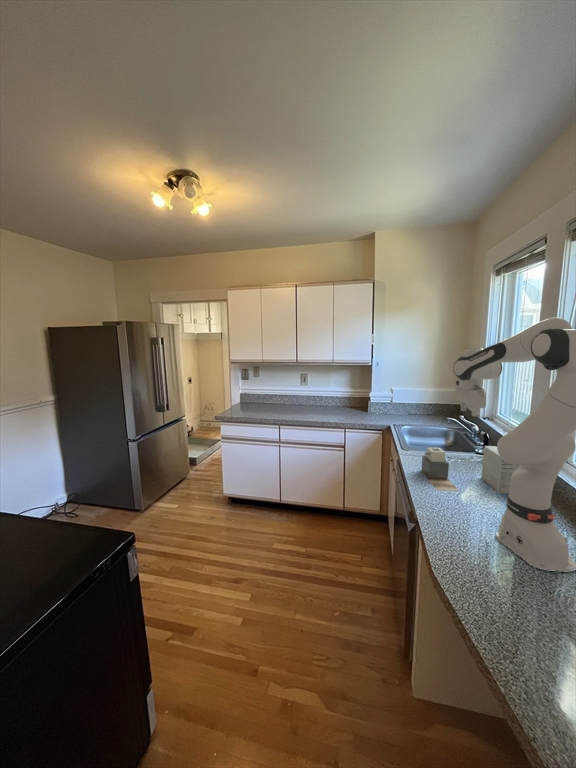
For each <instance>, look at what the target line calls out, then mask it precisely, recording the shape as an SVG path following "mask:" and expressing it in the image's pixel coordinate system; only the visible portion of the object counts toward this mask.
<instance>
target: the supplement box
mask: <svg viewBox="0 0 576 768" xmlns="http://www.w3.org/2000/svg"><path fill="white" fill-rule="evenodd" d="M481 468H482V469H481V480H482V481H483V482H485V483H486V484H487V485H488V486H489V487H490V488H492V489H493V490H494V491H495V492H497V494H507V495H509V491H510V482H511V476H512V474H513V473H514V471H516V470H517V469H518V468H519V465H512V464H508V463H507V462H505V461H504V460H503V459H502V458H501V457H500V455H499V453H498V450H497V446H495V445H484V447H483V459H482V467H481Z"/></svg>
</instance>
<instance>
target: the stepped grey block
mask: <svg viewBox="0 0 576 768" xmlns="http://www.w3.org/2000/svg"><path fill="white" fill-rule="evenodd" d="M421 457H422V458H421V469H420V472H421V471H422V472H423V473H424V474H425V475H424V474H423V473H422V472H421V473H422V474H423V475H424V477H427V478H428V479H448V478H449V476H448V475H449V470H450V469H449V468H450V467H449V466H450V462H448V461H447V460H446V459H445V461H444V462H431V461H430V460H429V459H428V458H427V455H422V456H421ZM427 478H426V479H427ZM428 479H427V480H428ZM448 480H449V479H448Z"/></svg>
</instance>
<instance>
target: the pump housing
mask: <svg viewBox="0 0 576 768" xmlns="http://www.w3.org/2000/svg"><path fill="white" fill-rule="evenodd" d="M426 448H427V449H426V451H424V456H427V458H428V459H429V460H430V461H431V462H444V461H445V460H446V452H445V450H443V449H442V448H440V447H426Z"/></svg>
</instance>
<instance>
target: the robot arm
mask: <svg viewBox="0 0 576 768" xmlns="http://www.w3.org/2000/svg"><path fill="white" fill-rule="evenodd" d="M535 360H536V361H537V362H539V363H540V364H542V365H543V367H544V368H545V369H546V370H547V371H556V376H555V377H556V378H555V379H554V382H553V383H552V384H551V385H550V387H549V388H548V390H547V391H546V393H545V394H544V396H543V397H542V399H541V400H540V402H539V403H538V405H537V406H536V408H534V410H533V411H532V412H531V413H530V414H529V415H528V416H527V417H526V418H524V420H522V422H520V423H519V424H518V425H517V426H516V427H515V428H514V429H512V430H511V431H509V432H508V433H506V434H504V435H503V436H501V437H500V438H499V439H498V441H497V444H496V445H497V450H498V453H499V455H500V457H501V458H502V459H503V460H504V461H505V462H507V463H508V464H512V465H519V468H518V469H517V470H516V471H514V473H513V474H512V476H511V482H510V491H509V494H507V497H506V500H505V502H506V509H505V511H504V513H502V517H501V520H500V525H499V528H498V531H497V532H496V533H495V536H494V538H495V539H496V540H497V541H498V542H500V543H501V544H502V543H503V545H504V546H505V547H506V546H507V547H508V548H507V547H506V548H507V549H509V550H510V549H511V550H512V551H513V552H514V553H513V554H515V555H516V554H517V555H518V556H520V557H521V558H522V559H523V560H525V561H526V562H527V563H528V564H530V565H531V566H533V567H537V568H542V569H546V570H554V571H569V570H573V569H575V568H576V562H575V561H574V559H573V558H572V557H571V556H570V551H569V546H568V543H567V542H568V540H567V537H566V536H565V535H563V534H562V533H561V532H560V531H559V529H558V527H557V525H556V524H555V522H554V520H555V519H556V517H557V515H555V514H553V510H552V506H551V504H552V495H553V490H554V485H555V483H556V480H557V478H558V476H559V474H560V472H561V469H562V468H563V466H564V465H565V463H566V461H567V460H568V459H569V458H570V457H571V456H572V455H573V454H574V453H575V452H576V442H575V440H574V438H573V437H572V436H571V434H572V433H574V432H575V431H576V329H575V328H574V329H573V326H572V324H571V323H570V322H569V321H568V320H566V319H565V318H562V317H558V316H557V317H550V318H546V319H544V320H541V321H538V322H536V323H534V324H532V325H530V326H528V327H527V328H524V329H523V330H521V331H520V332H517V333H515V334H514V335H511V336H510V337H508V338H505V339H503V340H501V341H499V342H497V343H494V344H492V345H490V346H488V347H485V348H481V347H473V348H467V349H465V350H464V351H463V356H459V357H458V359H457V360H456V361H454V363H453V366H452V370H453V374H454V375H455V377H457V380H455V383H454V384H455V385H456V386H455V391H454V393H455V400H457V401H459V404H460V410H461V411H462V412H467V407H466V404H467V405H469V406H471V407H472V409H473V410H472V411H471V416H472V417H477V416H478V414H479V413H478V412H479V411H480V409H485V408H486V406H487V393H486V391H485V389H484V387H483V386H484V385H483V383H484V380H494V379H497V378H499V377H500V375H501V374H502V371H503V363H526V362H531V361H535ZM511 550H510V551H511ZM512 551H511V552H512ZM517 555H516V556H517ZM518 556H517V557H518ZM520 557H519V558H520ZM521 558H520V559H521ZM522 559H521V560H522ZM523 560H522V561H523ZM525 561H524V562H525ZM526 562H525V563H526ZM527 563H526V564H527ZM528 564H527V565H528ZM530 565H529V566H530ZM531 566H530V567H531ZM542 566H543V567H542ZM568 566H570V567H572V568H570V567H568ZM533 567H532V568H533Z"/></svg>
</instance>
